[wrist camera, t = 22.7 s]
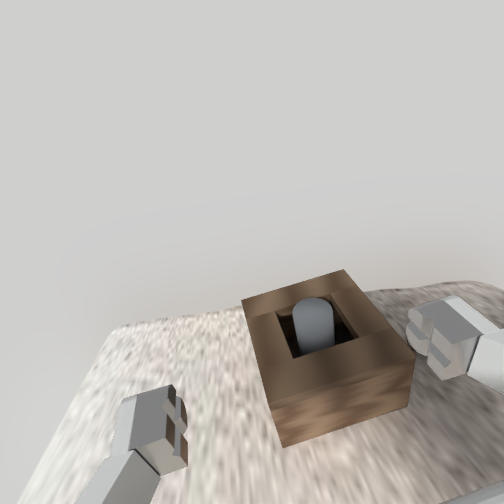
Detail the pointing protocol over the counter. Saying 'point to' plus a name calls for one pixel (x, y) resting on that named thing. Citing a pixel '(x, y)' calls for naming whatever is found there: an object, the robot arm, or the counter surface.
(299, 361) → the walnut drop box
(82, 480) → the counter surface
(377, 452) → the counter surface
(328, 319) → the grey rubber peg
